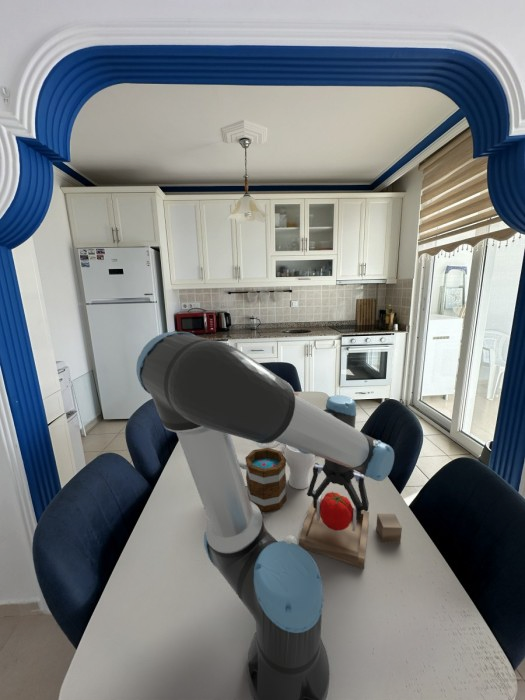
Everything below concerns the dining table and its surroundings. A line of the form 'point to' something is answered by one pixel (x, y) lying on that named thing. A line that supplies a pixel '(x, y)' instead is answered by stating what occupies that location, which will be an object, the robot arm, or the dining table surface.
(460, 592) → the dining table surface
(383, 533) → the walnut block
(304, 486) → the cup
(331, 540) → the tray
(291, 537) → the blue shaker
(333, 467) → the robot arm
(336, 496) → the tomato
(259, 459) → the mug
